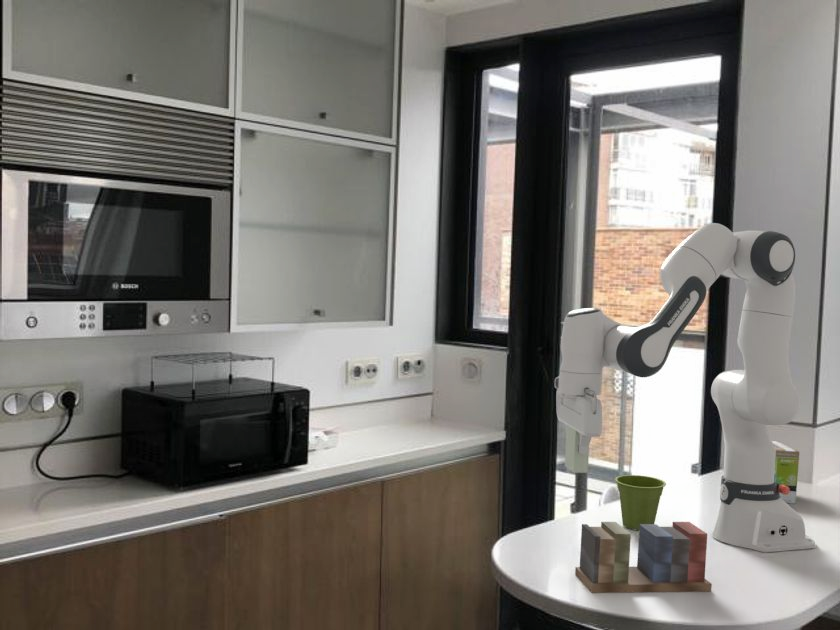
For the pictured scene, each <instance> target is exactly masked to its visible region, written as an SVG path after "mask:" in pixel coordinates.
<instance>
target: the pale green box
mask: <svg viewBox="0 0 840 630" xmlns="http://www.w3.org/2000/svg"><path fill="white" fill-rule="evenodd" d="M565 436H566V439H565V458H564V459H565V460H564V466H565V468H567V469H568V470H570V471H571V472H572V473H575V474H576V473H578V474H587V473H588V470H589V469H588V468H589V453H588V454H580V453H579V452H578V445H579V442H580V437H579V432H577V431H575V430H574V429H572V428H571V427H569V426H567V434H566V435H565ZM589 447H590V445H589V446H588V451H589Z"/></svg>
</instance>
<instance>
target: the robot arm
mask: <svg viewBox="0 0 840 630" xmlns="http://www.w3.org/2000/svg"><path fill="white" fill-rule="evenodd" d="M795 262H796V249H795V247H794V244H793V241H792V240H791V238H790V237H789V236H788V235H785V234H783V233H780V232H777V231H773V230H768V231H766V230H765V231H764V230H747V229H746V230H744V231H743V230H742V231H735V232H734V231H733V232H732V230H731V229H729V228H728V227H727V226H725V225H724V224H721V223H716V222H710V223H706V224H704V225H702V226H701V227H700V228H698V229H696V230H695V231H694V232H693V233H691V234H689V236H687V238H685V239H684V240H682V242H681V243H680V244H679V245H678V246H677V247H675V249H674V250H673V251H672V252H671V253H670V254H669V255H668V257H666V259H665V260H664V261H663V264H662V265H661V266H660V268H659V280H660V284H661V285H662V287H663V289H664V291H665V292H666V293H667V294H668V295H669V298H668V299H667V301H665V303H664V305H663V306H662V307H661V308H660V310H659V311H658V313H657V314H656V315H655V316H654V318H653V319H652V320H651V321H650V322H648V323H647V324H643V325H640V326H633V325H632V326H631V325H625V324H621V323H620V322H618V321H615V320H614V319H612V318H610V316H607V314H606V313H604V312H603V311H602V309H601V308H597V307H587V308H585V307H583V308H576V309H573V310H571V311H569V312H567V314H566V315H565V318H564V320H563V325H562V331H561V342H560V352H561V356H562V357H561V363H560V366H559V375H558V376H557V377H555V378H554V388H555V389H556V395H555V396H556V397H555V399H556V400H555V401H556V404H555V406H556V417H557V419H558V421H559V422H561V423H563V424H565V434H566V435H567V426H569V427H571V428H572V429H574V430H575V431H577V432H579V437H580V442H579V445H578V452H579V453H580V454H588V455H589V450H588V446H589V447H590V443H591V441H592V438H599V437H600V436H601V435H602V432H603V405H602V401H601V400H600V399H599V398H598V397H597V396H600V395H602V384H603V383H602V381H603V369H604V367H605V368H608V369H613V370H616V371H621V372H624V373H627V374H630V375H633V376H635V377H637V378H648V377H651V376H654V375H655V374H657V373H658V372H660V370H662V368H663V367H664V365H665V363H666V362H667V360H668V357H669V355H670V352H671V350H672V348H673V346H674V344H675V342H676V341H677V340H678V338H679V337H680V336H681V334H682V333H683V332H684V330H685V329H686V327H687V326H688V325H689V323H690V322H691V321H692V319H693V318H694V317H695V315H696V314H697V313H698V311H699V310H700V309H701V307H702V305H703V303H704V302H705V299H706V296H707V291H708V290H709V289H710V288H711V286H713V284H714V283H715V282H716V281H717V279H719V278H720V277H722V278H726V279H728V278H731V279H736V280H742V281H744V283H745V289H746V292H745V295H744V300H743V303H742V304H743V306H742V309H741V315H740V322H739V327H738V333H737V334H738V335H737V341H736V342H737V346H738V348H739V351H740V352H741V354H742V359H743V367H744V368H743V369H731V370H726V371H725V370H724V371H722V372H720V373H719V374H718V375H717V376H716V377H715V378H714V379H713V381H712V384H711V388H710V396H711V398H712V401H713V402H714V404H715V405H716V407H717V411H718V414H719V417H720V423H721V428H722V433H723V434H722V435H723V440H724V456H723V457H724V458H723V459H724V460H723V473H722V474H723V475H721V478H720V479H721V480H720V489H719V500H720V506H719V510H718V515H717V518H716V522H715V526H714V529H713V531H712V533H711V534H712V537H713V538H715V540H717V541H720V542H723V543H725V544H727V545H732V546H736V547H741V548H746V549H751V550H755V551H758V552H762V553H771V552H783V551H794V550H795V551H797V550H807V549H808V550H809V549H815V548H816V542H815V540H814V539H813V538H811V537H810V536H808V535H807V534H806V527H805V522H804V519H803V517H802V516H801V515H800V514H799V513H798V512H797V511H796V510H795V509H794V508H792V507H791V506H790V505H789V503H785V502H784V501H783V500H782V499H781V498H780V494H779V492H780V493H782V494H784V495H788V493H790V492H789V491H790V490H788V489H790V488H789V487H788V486H785V485H779V484H778V483H776V482H775V481H774V472H775V457H776V450H775V446H774V444H773V442H772V441H773V440H772V439H771V437H770V434H769V432H768V428H767V426H781V425H787V424H789V423H791V422H792V421H793V420H794V419H795V418H796V417H797V415H799V414H798V413H800V412H799V411H800V408H801V396H800V393H799V392H798V390H797V388H796V387H795V385H794V382H793V379H792V375H791V369H790V362H789V361H790V360H789V346H790V338H791V332H792V327H793V326H792V325H793V319H794V313H795V305H796V283H795V281H796V280H795V277H794V274H793V273H792V272H793V270H794V266H795V264H796V263H795Z"/></svg>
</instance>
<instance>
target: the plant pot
mask: <svg viewBox="0 0 840 630" xmlns="http://www.w3.org/2000/svg"><path fill="white" fill-rule="evenodd" d="M614 480H615V482H616V483H617V491H618V492H619V493H618V494H619V501H620V502H619V503H620V511H621V512H620V513H621V519H622V527H623V528H624V527H625V529H632V530H633V531H638V532H639V525H640V524H656V523H655V522H656V518H657V513H658V508H659V505H660V500H661V496H662V495H663V491H664V488H665V487H666V485H667V483H666V482H665V481H664V480H663V479H659V478H657V477H651V476H648V475H636V474H624V475H620V476H616V477H615V479H614Z"/></svg>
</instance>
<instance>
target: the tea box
mask: <svg viewBox="0 0 840 630" xmlns="http://www.w3.org/2000/svg"><path fill="white" fill-rule="evenodd" d="M771 441H772V442H773V444H774V446H775V450H776V457H775V472H774V481H775V482H776V483H778V484H779V485H785V486H788V487H789V488H790V489H788V490H790V491H789V492H790V493H788V495H784V494H782V493H780V492H779V494H780V498H781V499H782V500H783V501H784V502H785V503H787V504H796V502H797V501H796V500H797V489H798V488H797V487H798V478H799V477H798V476H799V464H800V463H799V462H800V450H798V449H796V448H793V447H791V446H789V445H787V444H784V443H783V442H780V441H775V440H774V441H773V440H771Z"/></svg>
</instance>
